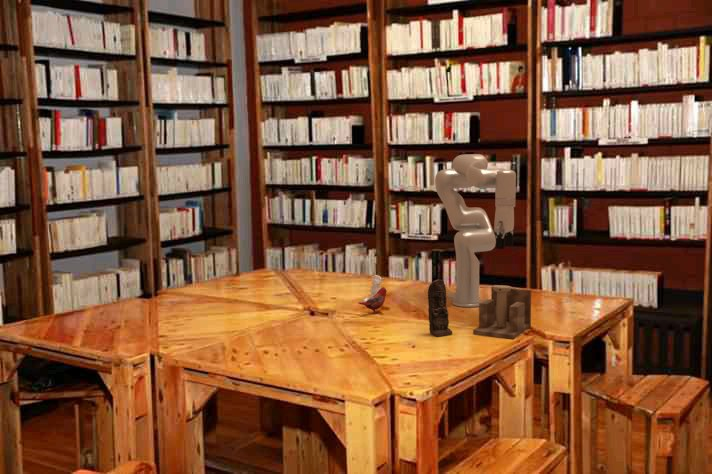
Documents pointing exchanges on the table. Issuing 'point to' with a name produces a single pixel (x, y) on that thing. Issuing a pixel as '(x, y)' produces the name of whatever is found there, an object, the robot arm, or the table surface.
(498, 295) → the handle
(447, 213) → the robot arm
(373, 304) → the decorative bird figurine
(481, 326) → the wooden stand
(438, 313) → the statue
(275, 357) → the table surface
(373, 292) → the white creature statuette
